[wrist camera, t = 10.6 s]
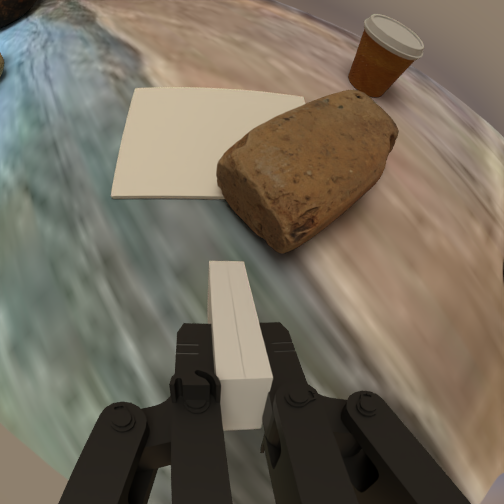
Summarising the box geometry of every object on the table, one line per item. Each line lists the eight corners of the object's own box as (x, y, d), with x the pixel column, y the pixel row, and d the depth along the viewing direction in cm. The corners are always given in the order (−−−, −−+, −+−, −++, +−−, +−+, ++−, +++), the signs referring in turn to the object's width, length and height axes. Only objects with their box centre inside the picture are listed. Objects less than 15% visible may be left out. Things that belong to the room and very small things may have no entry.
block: (212, 137, 24) (355, 78, 31) (206, 186, 31) (332, 118, 38) (303, 240, 22) (423, 143, 29) (277, 270, 29) (390, 177, 36)
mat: (302, 99, 38) (303, 96, 37) (321, 203, 33) (323, 201, 32) (135, 91, 34) (135, 88, 34) (112, 198, 29) (110, 195, 29)
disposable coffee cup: (327, 71, 42) (354, 12, 30) (360, 62, 45) (388, 12, 33) (371, 111, 40) (409, 54, 29) (400, 97, 43) (435, 49, 32)
